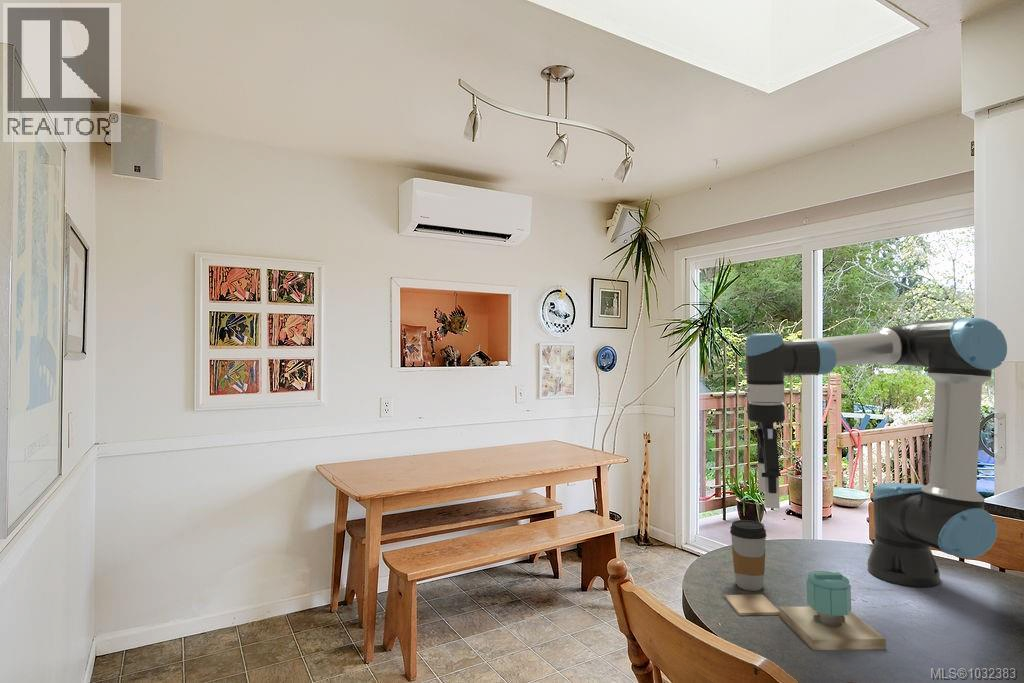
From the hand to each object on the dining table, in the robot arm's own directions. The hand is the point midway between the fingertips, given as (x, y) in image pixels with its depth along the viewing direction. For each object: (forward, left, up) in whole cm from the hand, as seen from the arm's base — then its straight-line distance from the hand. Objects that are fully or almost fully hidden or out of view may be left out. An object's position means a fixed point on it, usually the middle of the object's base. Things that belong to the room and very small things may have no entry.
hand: (768, 499), depth 125 cm
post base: (-8, +8, -25) cm, 28 cm away
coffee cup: (-1, -15, -25) cm, 29 cm away
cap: (-8, +8, -20) cm, 23 cm away
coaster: (+3, -4, -25) cm, 25 cm away
